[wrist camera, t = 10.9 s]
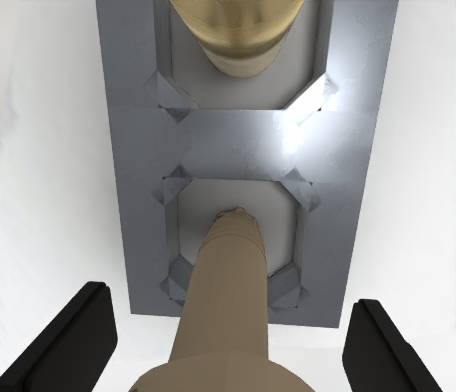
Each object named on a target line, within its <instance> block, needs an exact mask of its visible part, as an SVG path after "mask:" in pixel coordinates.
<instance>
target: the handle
mask: <svg viewBox="0 0 456 392" xmlns="http://www.w3.org/2000/svg"><path fill="white" fill-rule="evenodd" d="M129 392H315V391H314V390H313V389H312V388H311V387H310V386H309V385H308V384H306V383H305V382H304V381H303V380H302V379H301V378H300V377H298V376H297V375H295V374H294V373H292V372H290V371H289V370H287V369H286V368H284V367H283V366H281V365H279V364H276V363H275V362H272V361H270V360H268V323H267V265H266V256H265V249H264V245H263V241H262V238H261V235H260V232H259V230H258V225H257V222H256V220H255V218H254V217H250V216H249V215H247V214H246V213H245V211H244V209H243V208H239V207H238V208H236V209H235V210H233V211H230V212H221V213H220V214H219V215H218V216H217V217H216V219H215V221H214V224H213V225H212V226H211V228H210V229H209V231H208V233H207V235H206V237H205V239H204V240H203V242H202V245H201V247H200V250H199V252H198V255H197V258H196V261H195V264H194V268H193V272H192V276H191V280H190V284H189V288H188V292H187V296H186V300H185V303H184V307H183V311H182V314H181V318H180V322H179V326H178V329H177V333H176V337H175V340H174V344H173V348H172V351H171V355H170V358H169V360H168V363H165V364H163V365H160V366H158V367H155V368H153V369H151V370H149V371H148V372H146V373H145V374H143V375H142V376H140V377H139V379H138V380H137V381H136V383H135V384H134V385H133V386H132V387H131V389H130V390H129Z"/></svg>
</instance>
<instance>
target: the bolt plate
mask: <svg viewBox="0 0 456 392" xmlns="http://www.w3.org/2000/svg"><path fill="white" fill-rule="evenodd" d="M398 1H399V0H321V2H320V11H319V21H318V30H317V39H316V49H315V58H314V67H313V77H312V80H311V81H310V82H309V83H308V84H307V85H306V86H305V87H304V88H303V89H302V90H301V91H300V92H299V93H297V94H296V95H295V96H294V97H293V98H292V99H291V100H290V101H289V102H288V103H287V104H286V105H285V106H284V107H283V108H282V109H281V110H243V109H201V108H200V107H199V106H198V105H197V104H196V103H195V102H194V101H193V100H192V99H191V98H190V97H189V96H188V94H187V93H186V92H185V91H184V90H183V89H182V88H181V87H180V86H179V85H178V84H177V83H176V82H175V81H174V79H173V78H172V65H171V40H170V16H169V0H96V9H97V18H98V27H99V36H100V44H101V53H102V62H103V71H104V80H105V89H106V97H107V106H108V115H109V124H110V133H111V142H112V150H113V159H114V168H115V177H116V186H117V195H118V203H119V212H120V221H121V230H122V239H123V248H124V257H125V265H126V274H127V283H128V292H129V301H130V310H131V314H140V315H154V316H169V317H181V314H182V311H183V307H184V303H185V300H186V296H187V292H188V288H189V284H190V280H191V276H192V272H193V268H194V267H193V266H192V265H190V264H189V263H188V262H187V261H186V260H185V259H184V258H183V257H182V256H181V255H180V254H179V234H178V210H177V194H178V193H179V192H180V191H181V190H182V189H183V188H184V187H185V186H186V185H187V184H188V183H189V182H190V181H191V180H193V179H194V178H207V179H235V180H263V181H280V182H281V183H282V184H283V185H284V186H285V188H286V189H287V190H288V191H289V192H290V193H291V194H292V195H293V196H294V197H295V198H296V199H297V201H298V202H299V207H298V217H297V226H296V235H295V244H294V254H293V261H291V262H290V263H289V264H287V265H286V266H285V267H283V268H282V269H281V270H279V271H278V272H277V273H275V274H274V275H273V276H271V277H270V278H269V279H267V323H269V324H283V325H297V326H311V327H326V328H339V322H340V317H341V312H342V306H343V301H344V295H345V290H346V284H347V279H348V273H349V268H350V263H351V257H352V252H353V246H354V241H355V235H356V230H357V224H358V219H359V213H360V208H361V203H362V197H363V192H364V186H365V181H366V175H367V170H368V164H369V159H370V154H371V148H372V143H373V137H374V132H375V126H376V121H377V115H378V110H379V105H380V99H381V94H382V88H383V83H384V77H385V72H386V66H387V61H388V55H389V50H390V45H391V39H392V34H393V28H394V23H395V17H396V12H397V6H398Z"/></svg>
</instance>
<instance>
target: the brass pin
mask: <svg viewBox="0 0 456 392" xmlns="http://www.w3.org/2000/svg"><path fill="white" fill-rule="evenodd" d="M169 1H170V2H171V4H172V5H173V7H174V8H175V9H176V11H177V12H178V14H179V15H180V17H181V18H182V20H183V21H184V23H185V24H186V26H187V27H188V28H189V30H190V31H191V33H192V34H193V36H194V37H195V39H196V40H197V42H198V43H199V45H200V46H201V48H202V49H203V50H204V52H205V53H206V55H207V56H208V58H209V59H210V61H211V62H212V63H213V64H214V66H216V67H217V68H218V69H219V70H220V71H222V72H223V73H225V74H227V75H230V76H233V77H250V76H253V75H256V74H258V73H260V72H262V71H263V70H264V69H266V68H267V67H268V66H269V65H270V64H271V63H272V62H273V60H274V59H275V57H276V56H277V54H278V52H279V50H280V48H281V46H282V44H283V42H284V40H285V38H286V36H287V34H288V32H289V30H290V28H291V26H292V24H293V22H294V20H295V18H296V16H297V14H298V12H299V10H300V8H301V6H302V4H303V2H304V0H169Z"/></svg>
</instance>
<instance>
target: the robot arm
mask: <svg viewBox="0 0 456 392" xmlns="http://www.w3.org/2000/svg"><path fill="white" fill-rule="evenodd" d="M117 341H118V337H117V331H116V324H115V318H114V312H113V306H112V299H111V293H110V288H109V287H108V286H106V284H105V283H104V282H94V281H89V282H87V283H86V284H85V285H84V286H83V287H82V288H81V289H80V291H79V292H78V293H77V294H76V295H75V296H74V297H73V298H72V299H71V300H70V301H69V302H68V304H67V305H66V306H65V307H64V308H63V309H62V310H61V311H60V312H59V313H58V314H57V316H56V317H55V318H54V319H53V320H52V321H51V322H50V323H49V324H48V325H47V326H46V328H45V329H44V330H43V331H42V332H41V333H40V334H39V335H38V336H37V337H36V338H35V340H34V341H33V342H32V343H31V344H30V345H29V346H28V347H27V348H26V349H25V350H24V352H23V353H22V354H21V355H20V356H19V357H18V358H17V359H16V360H15V361H14V362H13V364H12V365H11V366H10V367H9V368H8V369H7V370H6V371H5V372H4V373H3V374H2V376H1V377H0V392H92V390H93V388H94V386H95V385H96V383H97V381H98V379H99V377H100V376H101V374H102V372H103V370H104V368H105V367H106V365H107V363H108V361H109V359H110V357H111V356H112V354H113V352H114V350H115V348H116V346H117ZM342 361H343V367H344V370H345V373H346V375H347V378H348V381H349V383H350V386H351V389H352V392H443V391H442V390H441V388H440V387H439V386H438V384H437V382H436V381H435V379H434V378H433V376H432V375H431V374H430V372H429V371H428V369H427V368H426V366H425V365H424V363H423V362H422V360H421V359H420V357H419V356H418V354H417V353H416V352H415V350H414V349H413V347H412V346H411V345H410V344H409V343H407V342H406V341H405V340H404V338H403V337H402V335H401V334H400V332H399V331H398V329H397V328H396V326H395V325H394V323H393V322H392V320H391V319H390V317H389V316H388V314H387V313H386V311H385V310H384V308H383V307H382V305H381V304H380V302H379V301H378V300H373V299H359V301H358V303H354V305H353V309H352V313H351V318H350V323H349V327H348V332H347V336H346V341H345V346H344V350H343V355H342Z"/></svg>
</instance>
